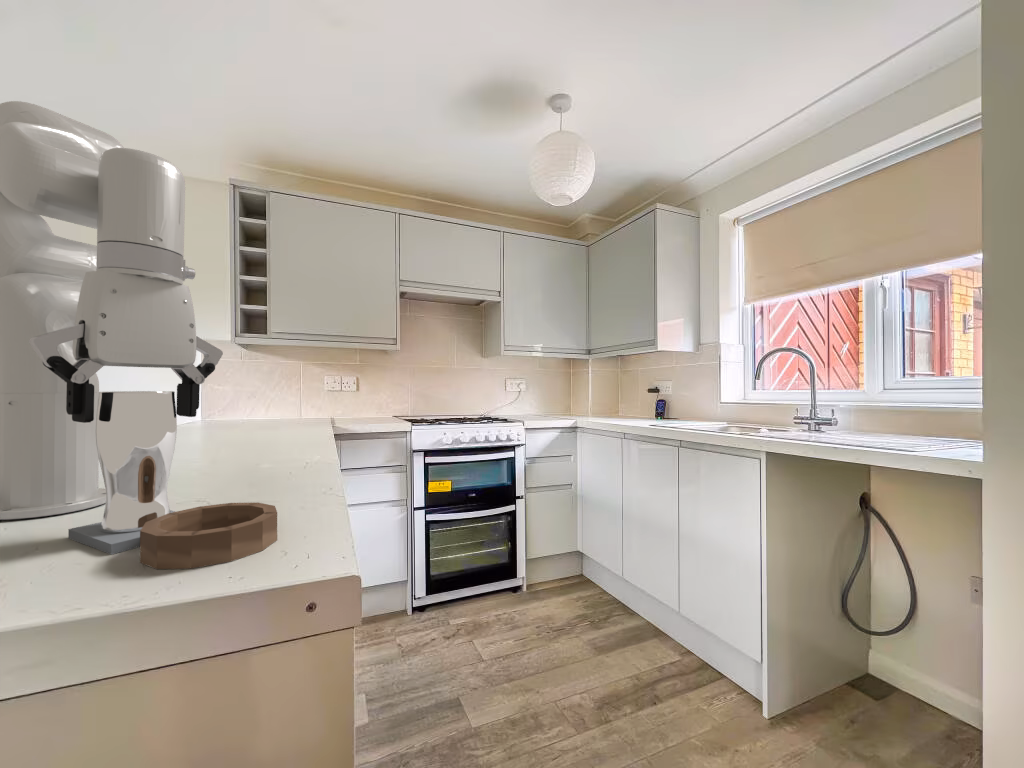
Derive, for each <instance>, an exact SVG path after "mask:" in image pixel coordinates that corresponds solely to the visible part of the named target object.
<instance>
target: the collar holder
mask: <svg viewBox="0 0 1024 768" xmlns="http://www.w3.org/2000/svg"><path fill="white" fill-rule="evenodd" d="M276 541H278V510H277V508H276V505H271V504H267V503H262V502H227V503H226V502H225V503H219V504H210V505H202V506H195V507H192V508H187V509H183V510H177V511H175V512H173V513H168V514H166V515H163V516H161V517H158V518H155V519H153V520H150V521H148V522H145V524H144V526H143V527H142V529H141V531H140V547H139V563H140V564H141V565H145V566H148V567H150V568H152V569H155V570H179V569H181V570H182V569H186V570H187V569H192V570H193V569H196V568H202V567H203V568H204V567H207V566H212V565H218V564H219V565H220V564H225V563H230V562H234V561H236V560H239V559H242V558H245V557H247V556H251V555H253V554H254V555H255V554H257V553H260V552H263V551H264V550H265V549H267V548H269V547H270V546H271V545H272V544H274V543H276Z"/></svg>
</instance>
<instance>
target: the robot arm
mask: <svg viewBox="0 0 1024 768" xmlns="http://www.w3.org/2000/svg"><path fill="white" fill-rule="evenodd" d="M185 209H186V181H185V177H184V175H183V173H182V172H181V170H180V169H179V168H178V167H177V165H175V164H174V163H172V162H171V161H169V160H167V159H165V158H163V157H161V156H159V155H156V154H153V153H150V152H148V151H144V150H140V149H139V150H138V149H136V148H135V149H134V148H129V147H124V146H123V145H122V144H121V142H120V141H119V140H118V139H117V138H115V137H114V136H112V135H111V134H109V133H106V132H105V131H103V130H100V129H97V128H95V127H92V126H90V125H87V124H85V123H83V122H80V121H78V120H76V119H72V118H70V117H68V116H66V115H64V114H61V113H59V112H56V111H54V110H51V109H49V108H46V107H43V106H40V105H39V104H38V105H37V104H35V103H31V102H26V101H21V100H19V101H18V100H13V101H12V100H11V101H5V102H1V103H0V521H9V520H23V519H34V518H41V517H48V516H56V515H62V514H67V513H73V512H77V511H82V510H87V509H90V508H95V507H98V506H102V505H104V504H106V490H105V488H99V470H100V469H99V466H100V462H99V458H98V452H97V446H96V414H97V406H98V397H99V392H100V381H99V377H98V374H97V373H98V371H100V370H101V369H102V368H104V367H128V368H129V367H130V368H131V367H132V368H159V369H160V368H161V369H162V368H163V369H164V368H165V369H169V368H170V369H171V370H172V371H173V373H175V375H177V377H178V378H179V379H180V380H181V383H177V386H176V416H180V417H188V418H192V417H193V418H195V417H196V416H197V410H198V409H199V408H200V391H201V390H200V389H201V388H200V385H203V383H205V381H206V379H207V378H208V377H209V376H210V375H212V373H213V372H214V371H216V366H217V365H218V364H219V362H220V360H221V359H222V357H223V350H222V349H220V348H218V347H216V346H215V345H213V344H211V343H210V342H208V341H206V340H204V339H202V338H200V337H199V336H197V328H196V326H197V325H196V318H195V310H194V305H193V304H194V303H193V299H192V295H191V291H190V287H189V285H186V284H184V282H186V280H195V277H196V270H195V269H194V268H193V267H192V268H191V267H189V266H187V265H186V259H184V257H185V255H184V254H185V253H184V252H185V211H186V210H185ZM43 217H46V218H50V219H55V220H60V221H63V222H66V223H71V224H75V225H79V226H81V227H86V228H91V229H95V230H96V245H95V244H90V243H86V242H82V241H77V240H73V239H69V238H66V237H62V236H59V235H55V234H54V233H53V231H52V229H51V227H50V225H49V224H48V222H47V221H46V220H45V219H44V218H43ZM197 352H200V353H201V354H203V356H204V357H203V359H202V362H201V363H199V364H198V365H197V366H195V361H196V356H197Z"/></svg>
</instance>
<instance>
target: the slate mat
mask: <svg viewBox="0 0 1024 768" xmlns="http://www.w3.org/2000/svg"><path fill="white" fill-rule="evenodd" d="M170 511H171V513H173V512H176V511H175V510H171V509H170ZM101 523H102V521H101V522H96V523H91V524H85V525H82V526H78V527H77V526H76V527H72V528H68V536H67V537H68V539H69V540H72V541H75V542H77V543H80V544H83V545H85V546H88V547H90V548H93V549H96V550H99V551H101V552H104V553H106V554H108V555H114V554H119V553H122V552H125V551H131V550H133V549H137V548H140V531H135V532H127V533H105V532H102V531H101Z"/></svg>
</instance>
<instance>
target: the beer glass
mask: <svg viewBox="0 0 1024 768" xmlns="http://www.w3.org/2000/svg"><path fill="white" fill-rule="evenodd" d="M176 410H177V404H176V397H175V391H173V390H171V391H169V390H168V391H167V390H166V391H165V390H152V391H151V390H147V391H145V390H143V391H142V390H138V391H137V390H136V391H135V390H133V391H131V390H129V391H128V390H127V391H121V390H120V391H119V390H118V391H115V390H112V391H99V397H98V406H97V414H96V446H97V452H98V458H99V466H100V470H101V474H102V479H103V483H104V487H105V488H104V489H105V490H106V503H105V507H104V511H103V516H102V519H101V522H102V523H101V531H102V532H105V533H127V532H135V531H141V529H142V527H143V526H144V524H145V522H148V521H150V520H153V519H155V518H158V517H161V516H163V515H166V514H168V513H171V511H172V510H171V507H170V503H169V498H168V487H169V477H170V474H171V473H170V472H171V468H172V464H173V460H174V454H175V450H176V442H177V431H178V423H177V421H178V420H177V418H178V417H177V413H176ZM170 510H171V511H170Z"/></svg>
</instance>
